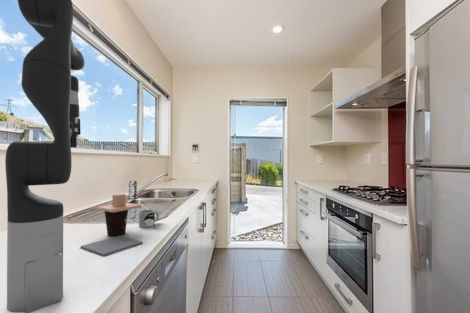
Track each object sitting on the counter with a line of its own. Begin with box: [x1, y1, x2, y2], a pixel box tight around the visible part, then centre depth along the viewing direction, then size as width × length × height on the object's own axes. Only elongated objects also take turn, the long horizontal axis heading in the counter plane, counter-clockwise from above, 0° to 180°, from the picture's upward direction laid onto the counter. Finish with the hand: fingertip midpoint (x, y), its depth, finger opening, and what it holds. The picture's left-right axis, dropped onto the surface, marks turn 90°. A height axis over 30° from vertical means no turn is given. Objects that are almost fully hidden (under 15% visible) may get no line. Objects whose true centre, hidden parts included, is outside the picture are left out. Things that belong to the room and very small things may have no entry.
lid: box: [95, 193, 142, 213], centre depth 102 cm, size 12×12×6 cm
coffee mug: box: [104, 210, 129, 238], centre depth 101 cm, size 12×9×10 cm
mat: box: [80, 235, 144, 257], centre depth 86 cm, size 14×14×1 cm
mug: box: [138, 209, 160, 229], centre depth 114 cm, size 10×7×7 cm, turn 148°
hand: (67, 147), depth 92 cm, fingers open, 8 cm apart
